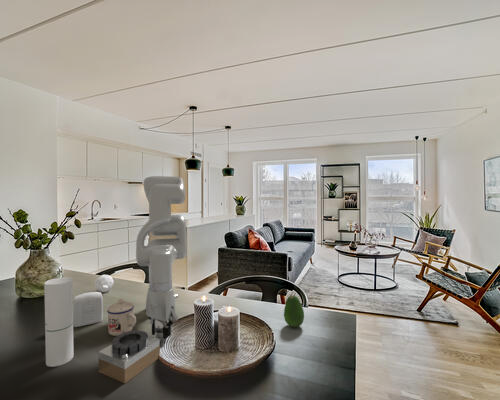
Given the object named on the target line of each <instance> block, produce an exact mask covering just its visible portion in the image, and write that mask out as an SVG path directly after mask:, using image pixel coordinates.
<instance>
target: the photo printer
mask: <svg viewBox="0 0 500 400" xmlns="http://www.w3.org/2000/svg"><path fill="white" fill-rule="evenodd" d="M103 301H104V298H103V295H102V292H100V291H89V292H84V293H80V294H77V295H75V296H74V298H73V328H77V327H82V326H87V325H92V324H97V323H101V322H102V321H103V319H104V311H103V310H104V308H103V307H104V302H103Z"/></svg>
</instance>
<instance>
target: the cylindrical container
mask: <svg viewBox="0 0 500 400" xmlns="http://www.w3.org/2000/svg"><path fill="white" fill-rule="evenodd" d="M43 287H44V326H45V327H44V330H45V331H44V332H45V334H44V335H45V341H44V342H45V366H47V367H51V368H54V367H59V366H62V365H64V364H67V363H69V362H70V361H71V360H72V359H74V353H75V352H74V326H73V301H74V295H73V293H74V292H73V291H74V290H73V277H71V276H70V277H68V276H66V277H65V276H64V277H56V278H51V279H48V280H46V281H45V282H44V286H43Z"/></svg>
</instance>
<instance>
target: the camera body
mask: <svg viewBox="0 0 500 400" xmlns="http://www.w3.org/2000/svg"><path fill="white" fill-rule="evenodd" d="M160 342H161V341H160V339H157V338H155V336H150V335H148V333H147V332H146V331H144V330H140V329H139V330H138V329H137V330H131V331H128V332H124V334H120V335H118V336H115V337H114V338H113V339H112V340H111V344H110V345H108V346H107V347H104V348H102V349H101V350H99V351H98V373H101V374H103V375H104V376H106V377H109V378H112V379H114V380H116V381H118V382H121V383H123V384H126V383H128V382H129V381H130V380H131V379H133V378H135V377H136V376H137V375H139V374H140V373H141V372H143V371H144V370H146V368H148V367H150V366H151V365H152V364H154V363H155V362H156V361H157V360H158V356H159V355H160V353H161V352H160V350H161V349H160V346H161V345H160ZM160 356H161V355H160Z"/></svg>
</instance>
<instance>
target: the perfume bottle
mask: <svg viewBox="0 0 500 400" xmlns="http://www.w3.org/2000/svg"><path fill="white" fill-rule="evenodd" d="M114 282H115V281H114V279H113V277H112V276H110V275H109V274H102V275H100V276H98V277H97V278H96V279H95V281H94V284H93V285H94V287H95V290H97V292H101V293H102V292H103V293H107V292H108V291H110V290H111V289H112V287H113V286H114Z"/></svg>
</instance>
